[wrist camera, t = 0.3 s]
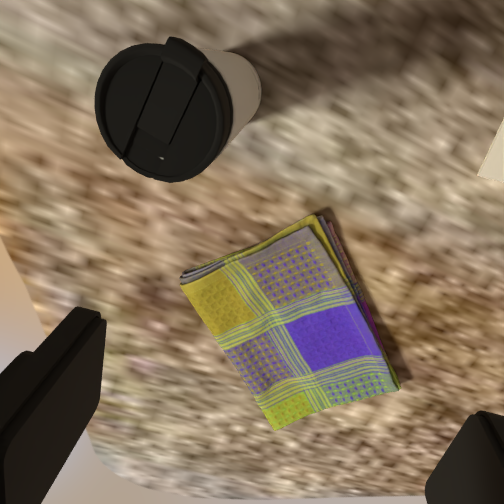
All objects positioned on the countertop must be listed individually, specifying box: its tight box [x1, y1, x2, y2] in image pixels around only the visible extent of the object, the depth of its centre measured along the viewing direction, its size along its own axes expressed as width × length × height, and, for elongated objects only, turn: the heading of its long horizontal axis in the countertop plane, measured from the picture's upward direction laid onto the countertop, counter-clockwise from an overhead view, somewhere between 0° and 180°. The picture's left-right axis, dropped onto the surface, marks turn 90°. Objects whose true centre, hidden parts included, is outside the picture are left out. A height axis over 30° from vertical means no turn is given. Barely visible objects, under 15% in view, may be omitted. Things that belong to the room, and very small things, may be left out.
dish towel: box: [179, 214, 401, 431], centre depth 45 cm, size 18×24×3 cm
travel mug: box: [95, 37, 262, 183], centre depth 27 cm, size 6×7×20 cm
